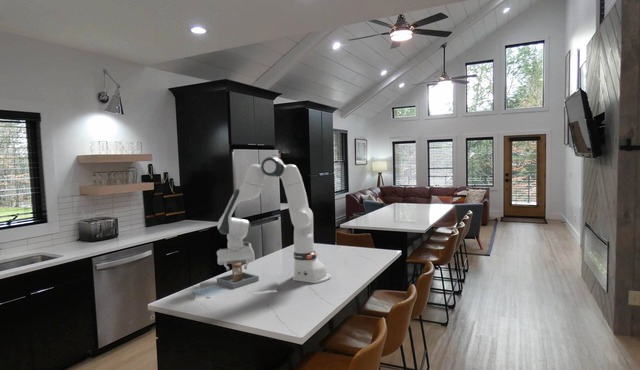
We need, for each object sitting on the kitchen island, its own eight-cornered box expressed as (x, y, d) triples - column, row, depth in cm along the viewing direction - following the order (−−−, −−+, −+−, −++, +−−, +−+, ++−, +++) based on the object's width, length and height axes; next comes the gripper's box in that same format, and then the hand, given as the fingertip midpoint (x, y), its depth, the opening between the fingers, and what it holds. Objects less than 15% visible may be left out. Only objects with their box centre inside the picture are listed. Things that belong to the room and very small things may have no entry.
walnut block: (242, 279, 212) (241, 262, 211) (242, 282, 207) (241, 264, 206) (233, 280, 211) (231, 263, 210) (233, 283, 206) (231, 265, 205)
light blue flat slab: (228, 291, 196) (227, 289, 196) (206, 298, 188) (206, 296, 187) (213, 286, 206) (212, 284, 206) (192, 292, 197) (192, 291, 197)
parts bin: (258, 282, 209) (258, 276, 209) (234, 290, 198) (233, 283, 198) (241, 277, 220) (241, 271, 220) (216, 284, 209) (216, 278, 208)
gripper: (216, 246, 213) (216, 268, 204) (253, 243, 218) (255, 264, 209) (217, 252, 218) (217, 274, 209) (253, 249, 223) (255, 270, 214)
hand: (236, 269), depth 209 cm, fingers open, 8 cm apart
